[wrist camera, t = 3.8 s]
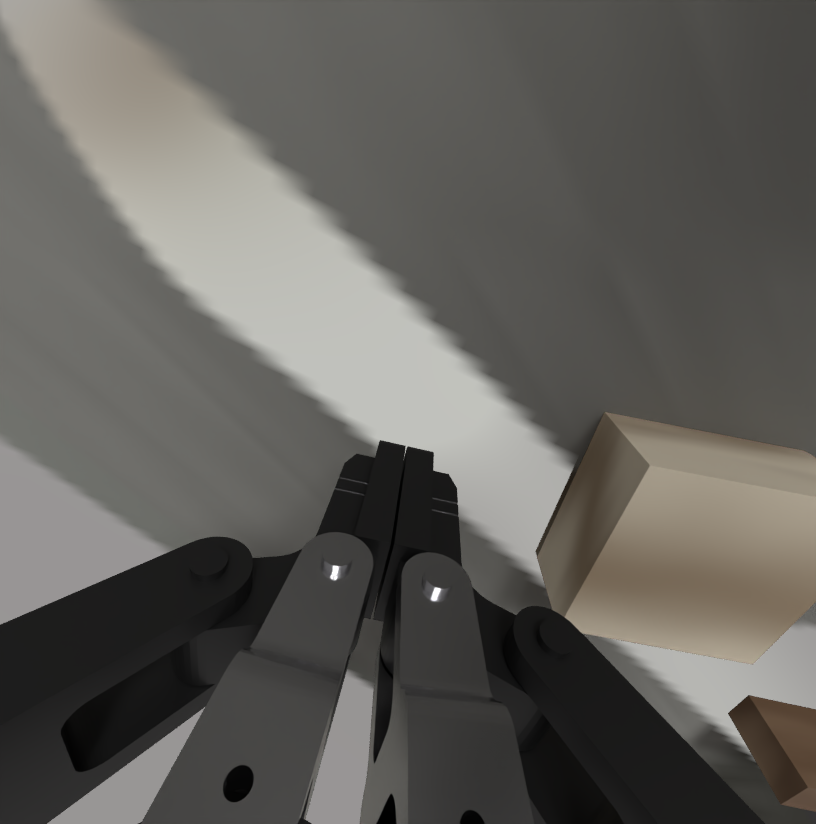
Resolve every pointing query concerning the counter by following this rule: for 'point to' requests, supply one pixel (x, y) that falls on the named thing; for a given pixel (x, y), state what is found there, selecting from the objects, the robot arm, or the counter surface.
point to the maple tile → (683, 540)
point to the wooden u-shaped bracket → (781, 747)
